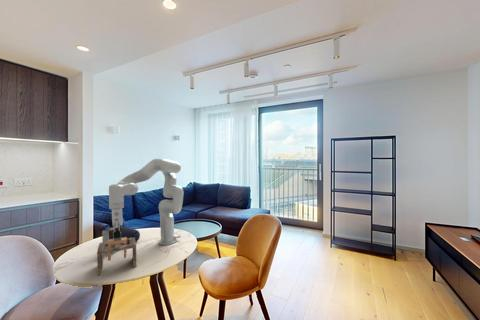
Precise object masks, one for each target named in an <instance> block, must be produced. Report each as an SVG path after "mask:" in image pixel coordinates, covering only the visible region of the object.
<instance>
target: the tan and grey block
mask: <svg viewBox="0 0 480 320" xmlns="http://www.w3.org/2000/svg"><path fill="white" fill-rule="evenodd" d="M120 243H121V244H123V245H128V243H127V237H125V238H121V232H120V238H115V239H110V240H108V248H111V245H113V244H120ZM121 244H120V245H121ZM127 250H128V249H126V250H123V259H127ZM111 260H112V255H111V252H110V253H108V255H107V261H108V262H110V261H111Z"/></svg>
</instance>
